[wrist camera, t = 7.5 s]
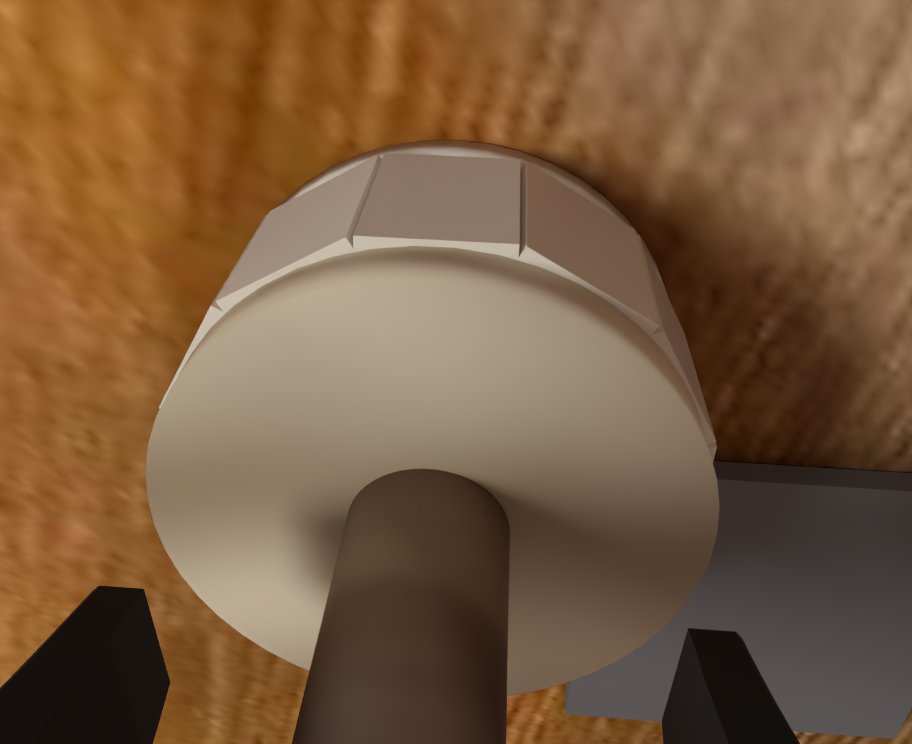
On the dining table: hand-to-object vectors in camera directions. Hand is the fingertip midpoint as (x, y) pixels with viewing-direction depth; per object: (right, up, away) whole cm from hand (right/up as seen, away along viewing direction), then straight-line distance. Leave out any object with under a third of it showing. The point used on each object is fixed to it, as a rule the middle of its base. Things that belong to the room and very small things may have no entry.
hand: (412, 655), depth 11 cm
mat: (+8, -2, +10) cm, 13 cm away
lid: (0, +2, +3) cm, 3 cm away
